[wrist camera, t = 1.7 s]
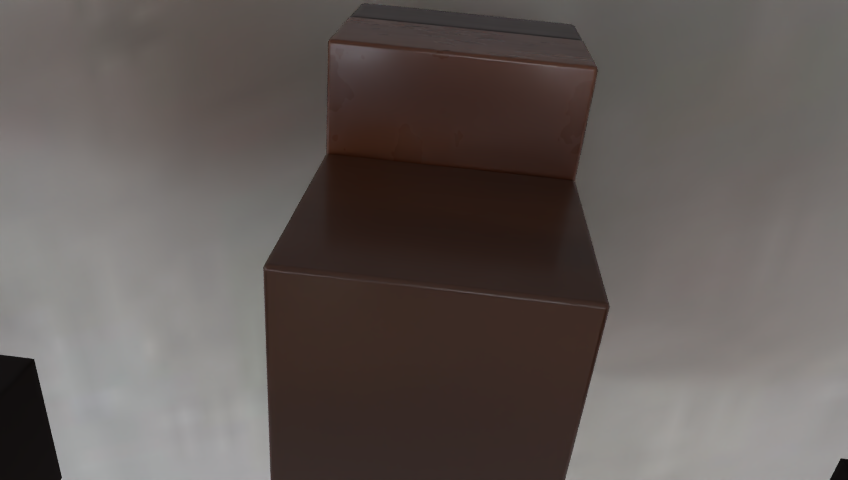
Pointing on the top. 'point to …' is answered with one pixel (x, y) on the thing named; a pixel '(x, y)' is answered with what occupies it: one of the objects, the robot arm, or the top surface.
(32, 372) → the robot arm
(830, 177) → the top surface
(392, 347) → the brown stepped block
